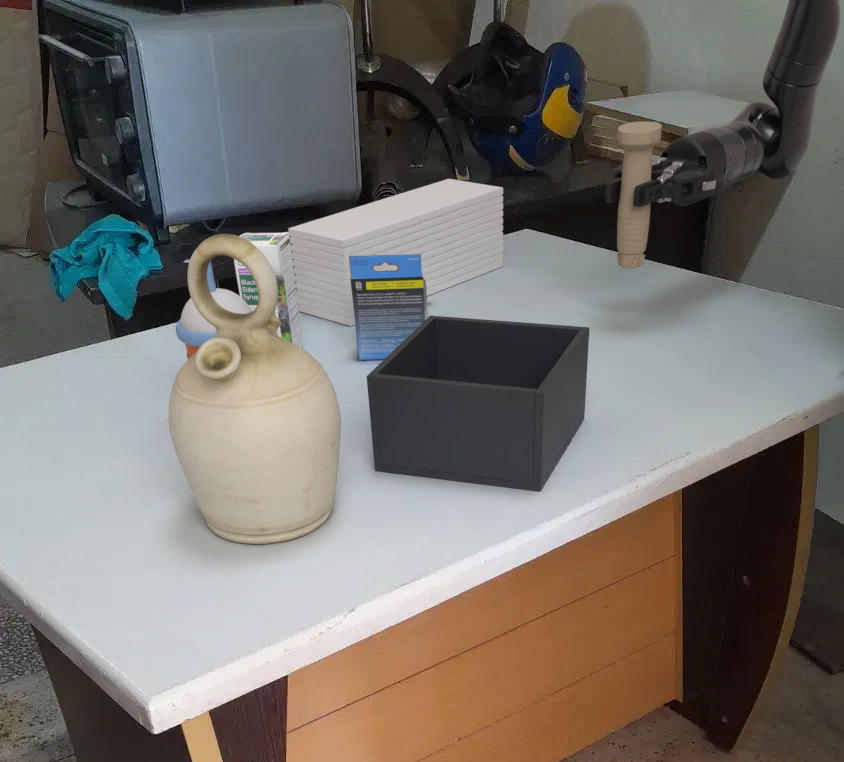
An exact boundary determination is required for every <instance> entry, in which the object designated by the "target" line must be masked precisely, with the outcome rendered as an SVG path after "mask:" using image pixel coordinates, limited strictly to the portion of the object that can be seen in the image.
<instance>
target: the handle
mask: <svg viewBox="0 0 844 762" xmlns="http://www.w3.org/2000/svg"><path fill="white" fill-rule="evenodd" d="M662 129H663V125H662V124H661V123H659V122H658V121H632V122H631V121H630V122H627V123H624V124H621V125H620V126H619V127H618V128H617V135H616V137H617V138H616V141H617V144H618V145H619V146H621V147H622V149H623V161H622V163H623V170H622V180H621V189H620V198H619V201H618V208H617V221H616V227H617V228H616V249H617V252H618V253H617V255H616V261H617V265H618V266H619V267H621V268H622V269H631V270H634V269H637V268H639V267H643V265H644V264H645V258H646V254H644V252H646V250H647V249H646V248H647V245H648V237H649V230H650V222H651V221H650V219H651V207H652V206H651V204H652V203H650V204H647V205H645V206H642V207H634V205H633V198H634V189H635V187H636V186H638V185H640V184H643V183H646V182H648V181H651V167H652V161H653V149H654V148H655V147H656V146H657V145H659V144H660V142H661V138H662Z"/></svg>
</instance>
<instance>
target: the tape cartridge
mask: <svg viewBox="0 0 844 762" xmlns="http://www.w3.org/2000/svg"><path fill="white" fill-rule="evenodd" d="M349 262H350V274H351V289H352V298H353V308H354V318H355V325H354V326H355V327H354V328H355V337H356V338H355V339H356V349H357V350H356V351H357V358H358V360H359V361H375V360H376V361H377V360H378V361H379V360H380V361H381V360H384V359H385V358H386V357H387V356H388V355H389V354H390V353H391V352H392V351H394V350H395V349H396V348H397V347H398V346H399V345H400V344H401V343H402V342H403V341H404V340H405V339H406V338H407V337H408V336H409V335H410V334H411V333H412V332H413V331H414V330H415V329H417V328H418V327H419V326H420V325H421V324H422V323H423V322H424V321H425V320H426V319H427V318H428V317H429V309H428V296H427V291H426V281H425V279H424V278H423V276H422V265H421V254H406V255H370V256H349ZM385 262H386V263H387V264H388V265H396V266H397V267H398V269H397V270H394V271H393V270H389V271H375V270H374V266H381V265H382V264H383V263H385Z"/></svg>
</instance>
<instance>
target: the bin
mask: <svg viewBox="0 0 844 762" xmlns="http://www.w3.org/2000/svg"><path fill="white" fill-rule="evenodd" d="M589 344H590V327H588V326H577V325H563V324H561V325H560V324H549V323H536V322H522V321H508V320H496V319H482V318H470V317H469V318H468V317H454V316H441V315H428V318H427V319H426V320H425V321H424V322H423V323H422V324H421V325H420V326H419V327H418V328H417V329H415V330H414V331H413V332H412V333H411V334H410V335H409V336H408V337H407V338H406V339H405V340H404V341H403V342H402V343H401V344H400V345H399V346H398V347H397V348H396V349H395V350H394V351H392V352H391V353H390V354H389V355H388V356H387V357H386V358H385V359H382V360H381V362H379V364H378V365H377V366H376V367H375V368H373V369H372V370H371V371H370V372H369V373H368V374H366V385H367V397H368V409H369V420H370V430H371V441H372V442H371V443H372V453H373V465H374V466H373V467H374V471H375V472H383V473H388V474H389V473H391V474H398V475H406V476H415V477H421V478H428V479H429V478H430V479H437V480H445V481H453V482H462V483H470V484H479V485H485V486H486V485H487V486H492V487H493V486H495V487H501V488H510V489H518V490H525V491H533V492H541V491H542V490H543V488H544V486H545V485H546V484H547V482H548V480H549V479H550V476H551V475H552V473H553V472H554V470H555V468H556V466H557V465H558V463H559V462H560V460H561V458H562V456H563V455H564V454H565V452H566V450H567V449H568V447H569V445H570V443H571V442H572V440H573V438H574V437H575V435H576V434H577V432H578V430H579V428H580V427H581V425H582V423H583V421H584V420H585V415H586V414H585V413H586V397H587V379H588V360H589Z"/></svg>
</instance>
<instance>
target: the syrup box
mask: <svg viewBox="0 0 844 762" xmlns="http://www.w3.org/2000/svg"><path fill="white" fill-rule="evenodd" d="M238 236H239V237H242V238H244V239H246V240H248V241H249V242H251V243H252V244H253V245H255V246H256V247H257V248H258V249H259V250H260V251H261V252H262V253H263V254H264V255H265V257H266V258H267V259H268V261H269V263H270V265H271V267H272V269H273V271H274V274H275V277H276V280H277V285H278V301H277V306H276V309H275V315H276V317H277V318H278V319H279V320H280V323H281V324H280V326H279V328H278V330H277V334H278V336H279V337H281V338H283V339H285V340H287V341H289V342H291V343H293V344H295V345H297V346H299V347H301V348H302V349H304V342H303V335H302V327H301V319H300V311H299V309H298V305H299V303H298V301H297V297H298V296H297V293H296V290H297V289H296V285H295V283H296V281H295V277H294V275H295V274H294V269H293V268H294V266H293V261H292V260H293V259H292V251H291V245H292V243H290V237H291V236H290V235H289V231H284V232H244V233H242V234H240V235H238ZM233 265H234V269H235V276H236V281H237V287H238V295H239V296H240V297H241V298H242V299H244V301H245V302H246V303H247V304H248V306H249V307H250V309H251V310H252V311H254V310H255V309H256V307H257V304H258V290H257V286H256V283H255V281H254V278H253V276H252V275H251V273H250V272H249V270H248V269H247V268H246V267H245V266H244V265H243V264H242V263H240V262H239V261H237V260H235V259H234V258H233Z"/></svg>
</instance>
